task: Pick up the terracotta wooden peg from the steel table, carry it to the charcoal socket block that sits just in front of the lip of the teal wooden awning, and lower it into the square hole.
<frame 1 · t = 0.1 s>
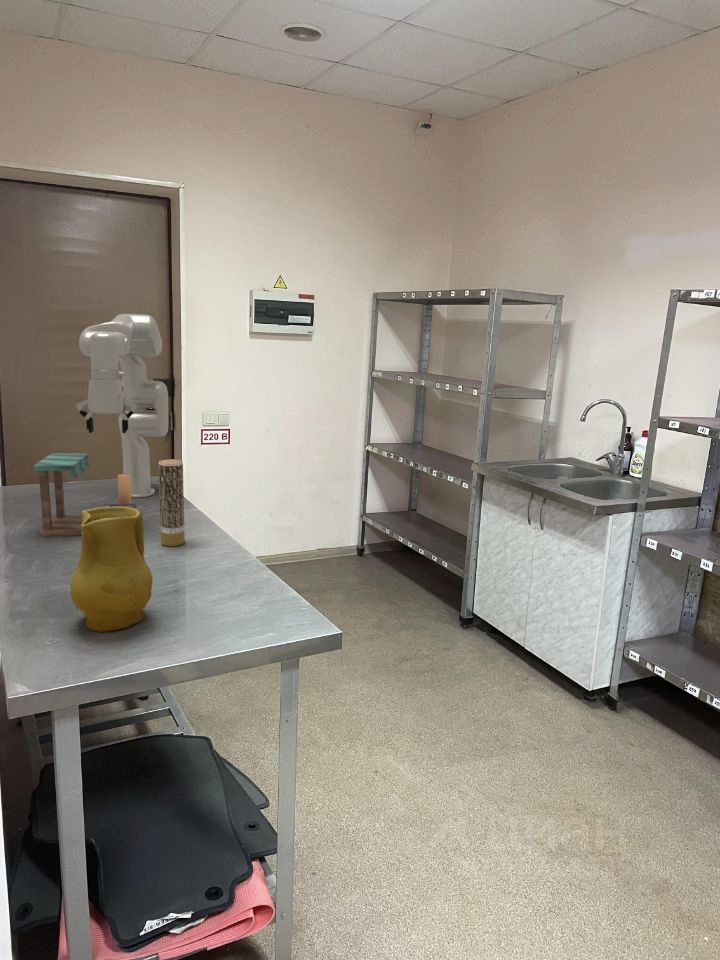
hand: (107, 432, 205), 31 cm above the table, tool pointing down, fingers open, 9 cm apart
pitcher: (116, 620, 152), on the table
paper tube: (172, 544, 203), on the table
peg: (125, 515, 228), on the table
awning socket: (117, 527, 216), on the table
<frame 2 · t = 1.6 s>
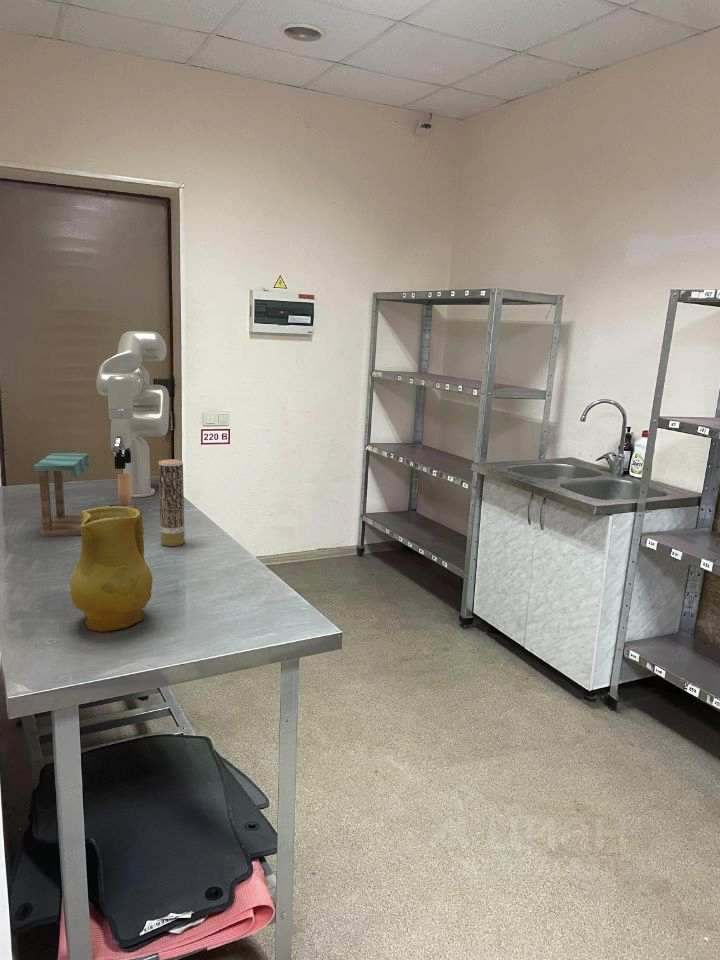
hand: (123, 465, 224), 17 cm above the table, tool pointing down, fingers open, 9 cm apart
nothing on the table moved.
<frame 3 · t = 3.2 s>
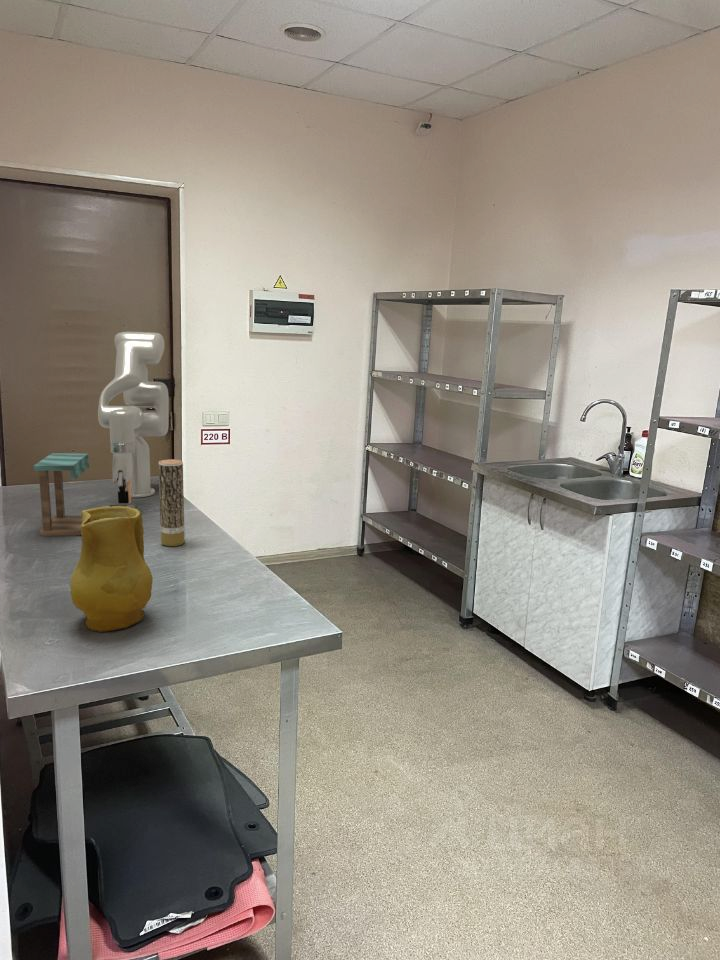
hand: (124, 500, 227), 5 cm above the table, tool pointing down, fingers closed on peg, 4 cm apart
peg: (125, 515, 228), on the table, touching gripper
everything else where it was.
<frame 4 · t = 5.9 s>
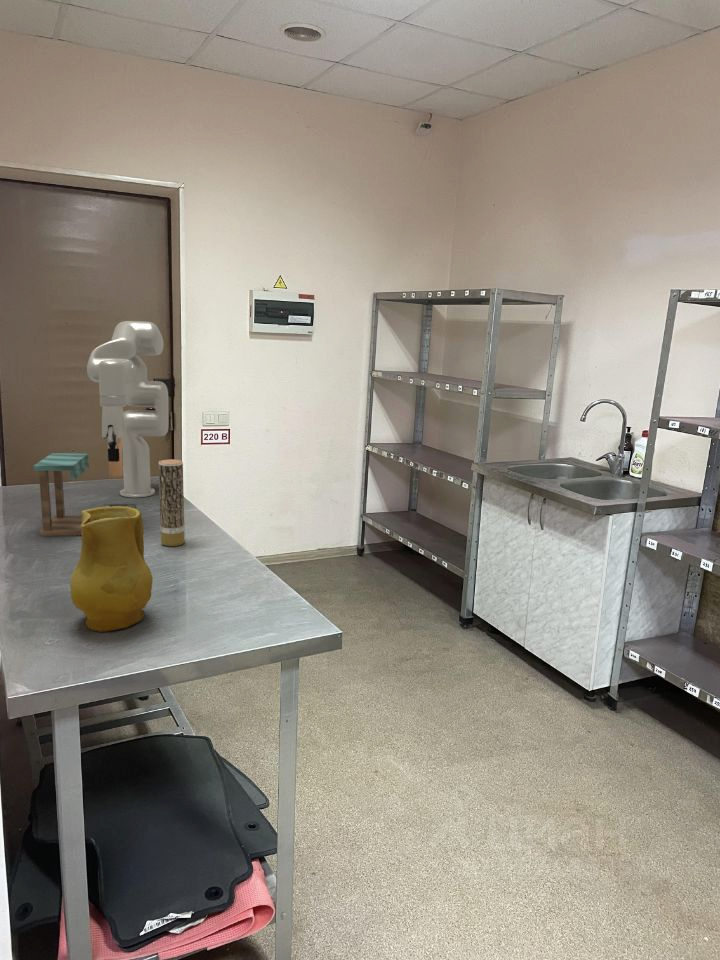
hand: (115, 459, 212), 22 cm above the table, tool pointing down, fingers closed on peg, 4 cm apart
peg: (116, 475, 213), point 17 cm above the table, touching gripper
everything else where it was.
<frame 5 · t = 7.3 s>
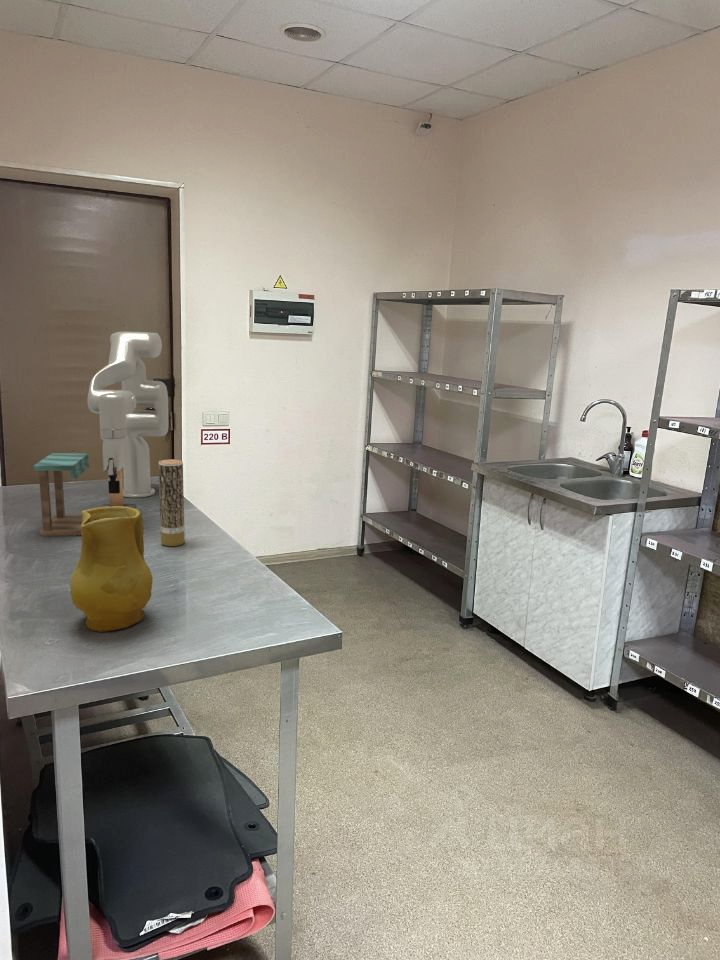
hand: (116, 490, 213), 12 cm above the table, tool pointing down, fingers closed on peg, 4 cm apart
peg: (116, 506, 214), point 7 cm above the table, touching gripper
everything else where it was.
when the fingers open (8 cm above the table, at t = 8.5 s): peg stays where it is, resting on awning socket.
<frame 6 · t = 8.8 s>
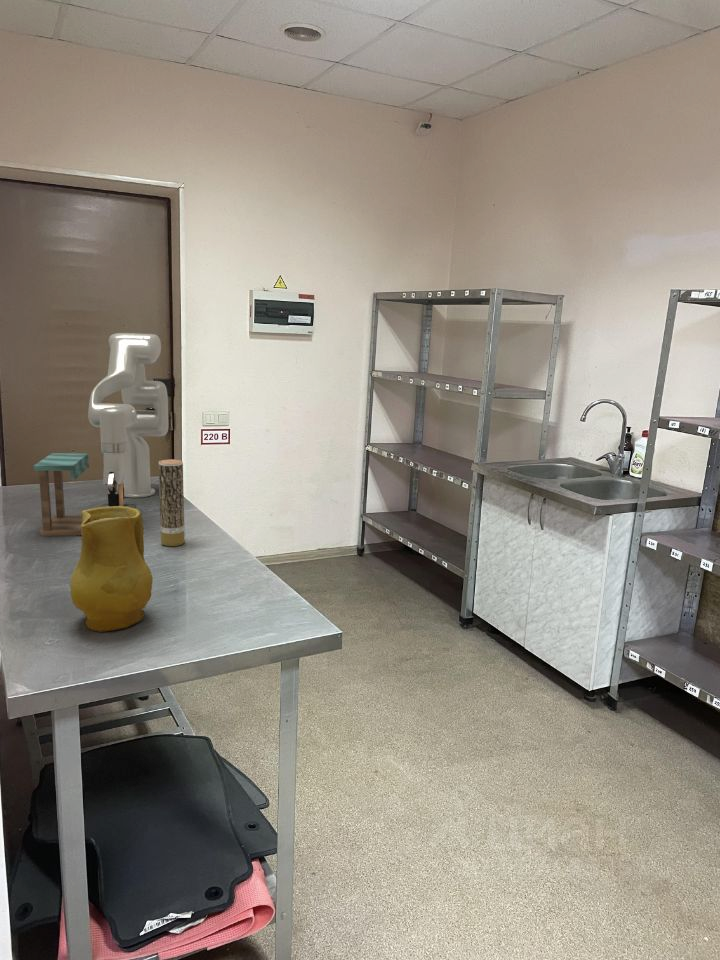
hand: (116, 502, 214), 8 cm above the table, tool pointing down, fingers open, 7 cm apart
peg: (117, 522, 215), point 2 cm above the table, touching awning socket
everything else where it was.
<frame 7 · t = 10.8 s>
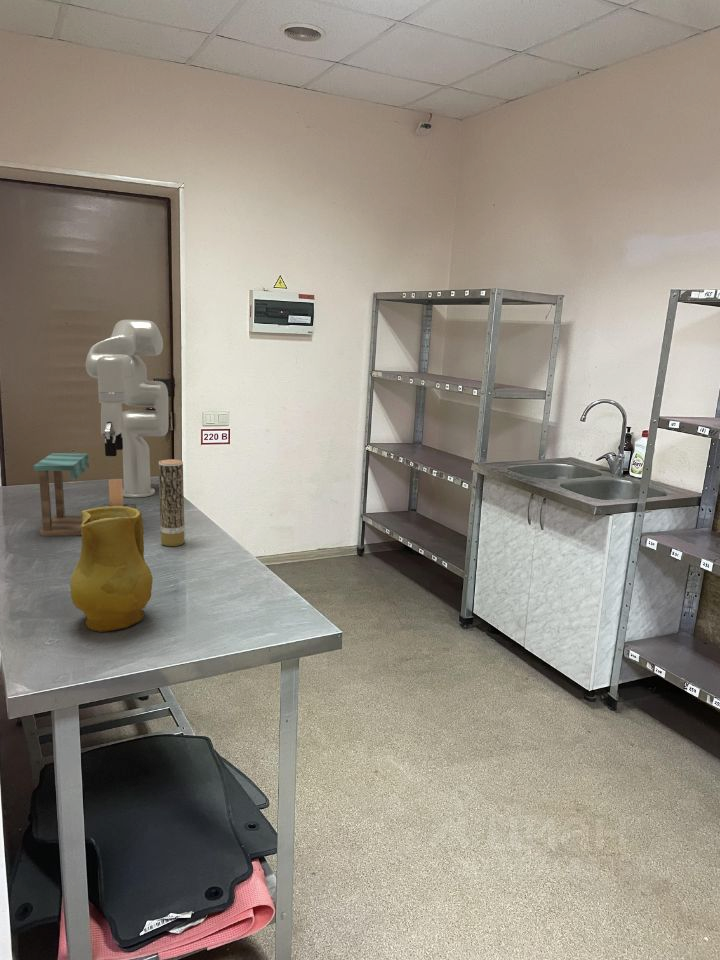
hand: (114, 452, 210), 24 cm above the table, tool pointing down, fingers open, 9 cm apart
nothing on the table moved.
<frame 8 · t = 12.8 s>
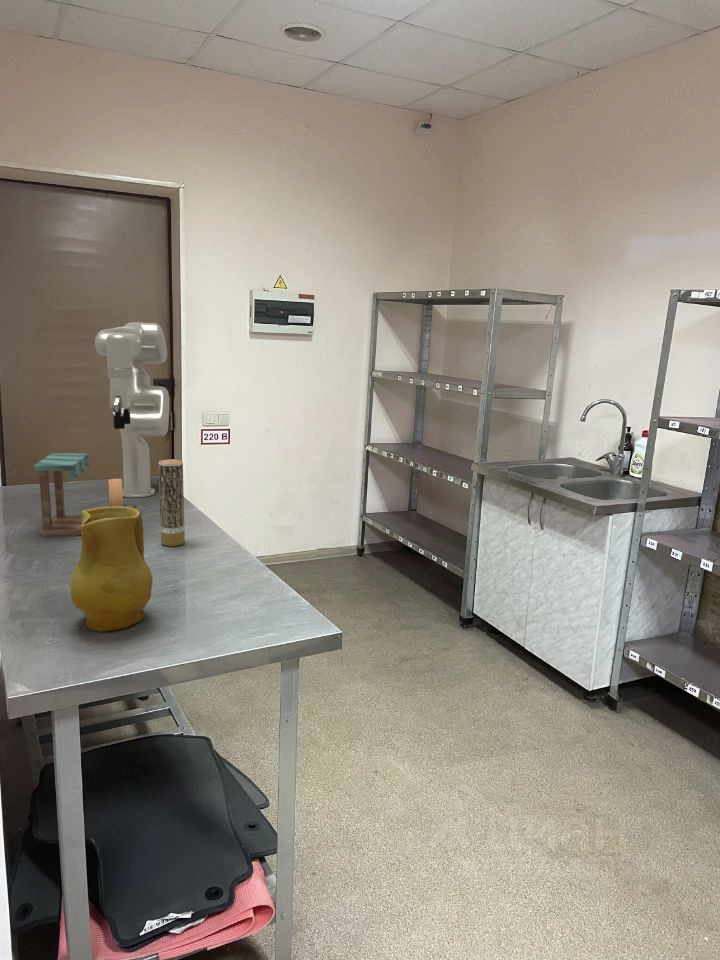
hand: (122, 426, 222), 30 cm above the table, tool pointing down, fingers open, 9 cm apart
nothing on the table moved.
at the end: peg 0.1 cm off-centre on the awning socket, point 1.5 cm above the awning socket's base; peg tilted 1°; the gripper is holding nothing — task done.
